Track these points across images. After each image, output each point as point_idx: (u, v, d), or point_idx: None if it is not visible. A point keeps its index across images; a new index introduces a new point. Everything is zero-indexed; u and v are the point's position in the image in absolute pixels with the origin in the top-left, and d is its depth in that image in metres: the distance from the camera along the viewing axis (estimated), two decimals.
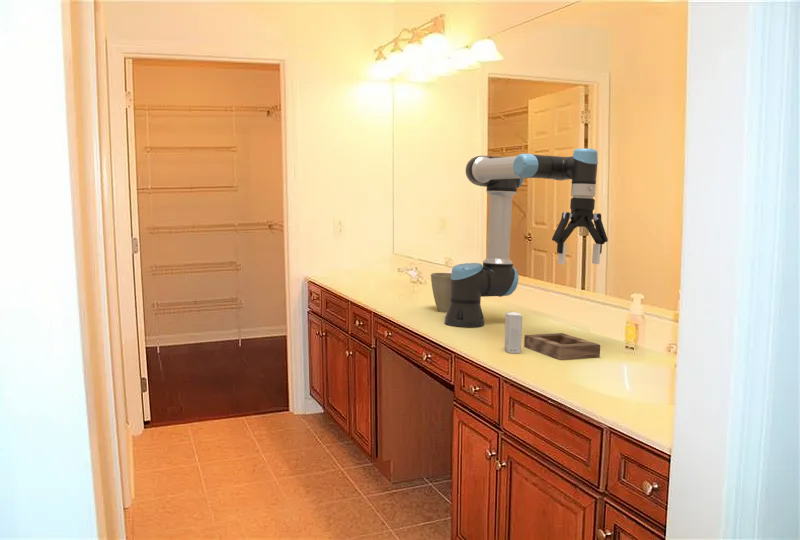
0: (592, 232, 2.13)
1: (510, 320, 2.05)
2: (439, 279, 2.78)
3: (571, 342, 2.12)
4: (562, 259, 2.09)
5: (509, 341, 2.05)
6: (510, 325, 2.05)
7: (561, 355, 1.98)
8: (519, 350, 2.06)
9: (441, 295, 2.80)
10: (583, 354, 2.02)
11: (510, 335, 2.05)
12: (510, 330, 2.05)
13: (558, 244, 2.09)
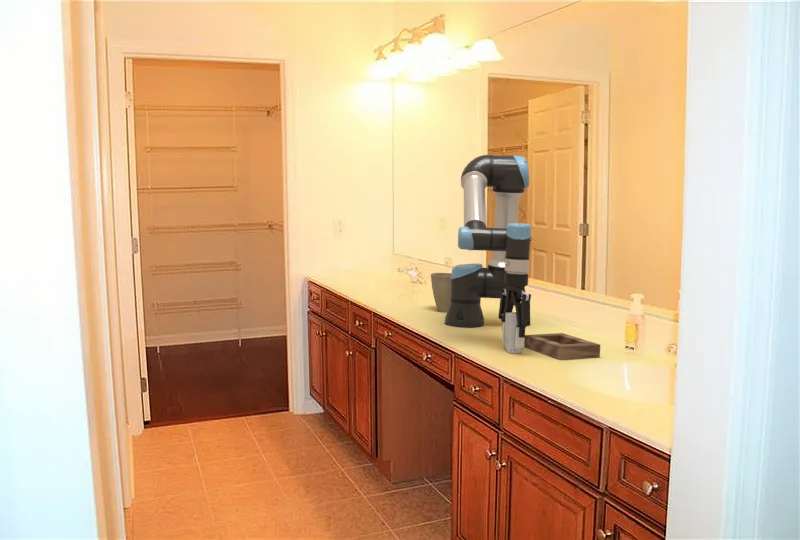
0: None
1: (510, 320, 2.05)
2: (439, 279, 2.78)
3: (571, 342, 2.12)
4: None
5: (509, 341, 2.05)
6: (510, 325, 2.05)
7: (561, 355, 1.98)
8: (519, 350, 2.06)
9: (441, 295, 2.80)
10: (583, 354, 2.02)
11: (510, 335, 2.05)
12: (510, 330, 2.05)
13: None
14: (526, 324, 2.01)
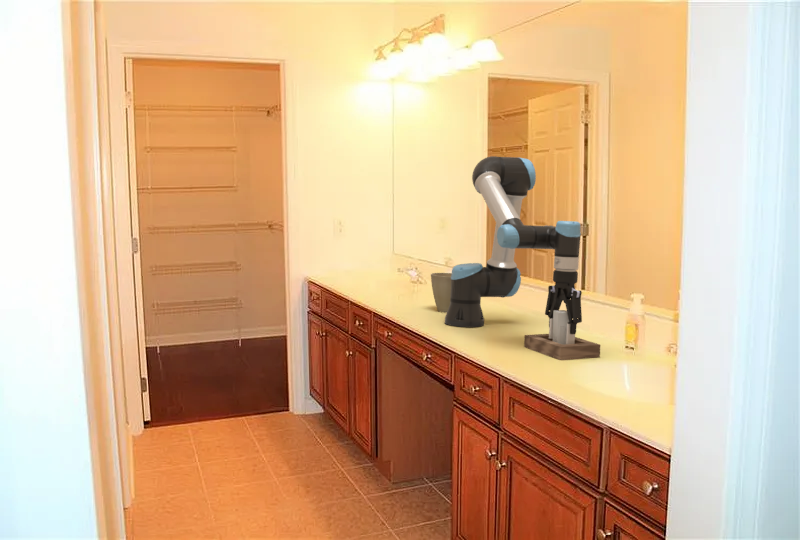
0: None
1: (559, 318, 2.06)
2: (439, 279, 2.78)
3: None
4: None
5: (558, 338, 2.07)
6: (559, 323, 2.06)
7: (561, 355, 1.98)
8: None
9: (441, 295, 2.80)
10: (583, 354, 2.02)
11: (559, 333, 2.07)
12: (559, 328, 2.07)
13: None
14: (578, 321, 2.02)
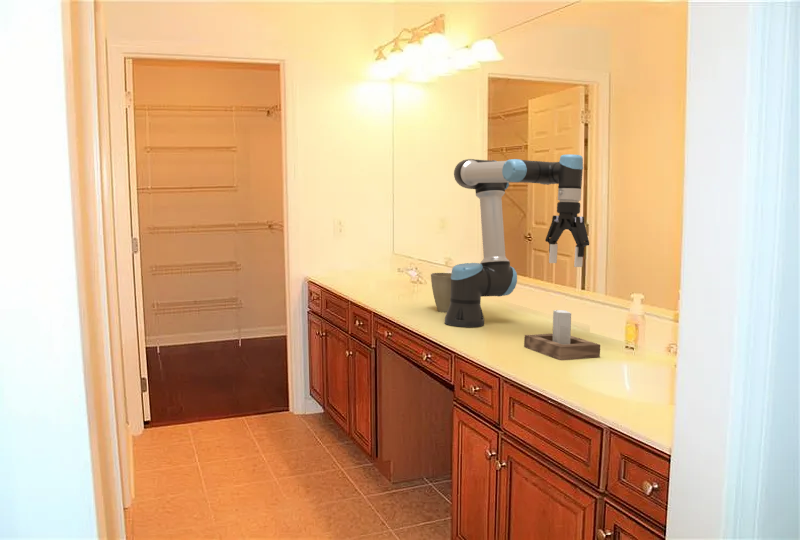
0: None
1: (559, 318, 2.06)
2: (439, 279, 2.78)
3: (571, 342, 2.12)
4: None
5: (558, 338, 2.07)
6: (559, 323, 2.06)
7: (561, 355, 1.98)
8: None
9: (441, 295, 2.80)
10: (583, 354, 2.02)
11: (559, 333, 2.07)
12: (559, 328, 2.07)
13: None
14: (585, 243, 2.12)
